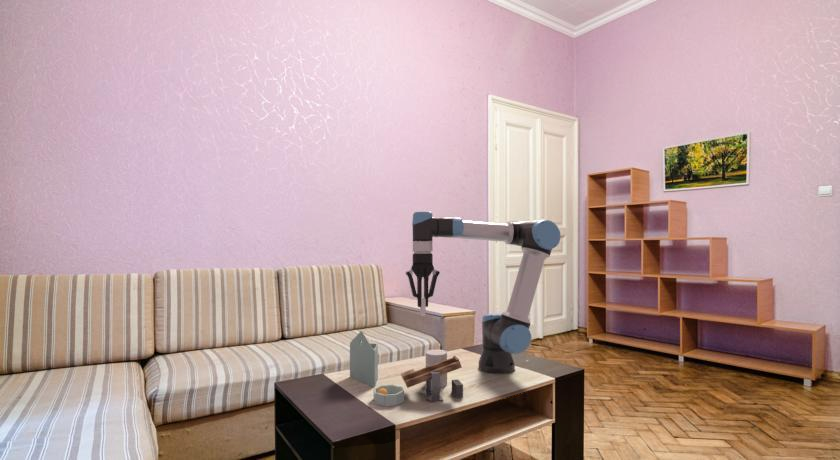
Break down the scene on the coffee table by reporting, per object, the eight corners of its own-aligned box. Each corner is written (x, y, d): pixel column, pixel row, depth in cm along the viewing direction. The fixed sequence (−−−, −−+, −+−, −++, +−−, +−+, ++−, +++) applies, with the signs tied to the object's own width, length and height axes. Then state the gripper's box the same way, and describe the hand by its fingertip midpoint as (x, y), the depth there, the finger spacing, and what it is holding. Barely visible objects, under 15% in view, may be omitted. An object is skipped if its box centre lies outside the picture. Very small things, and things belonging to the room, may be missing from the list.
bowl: (400, 393, 157) (400, 384, 157) (405, 404, 148) (405, 393, 148) (372, 396, 155) (372, 386, 155) (375, 406, 146) (375, 396, 146)
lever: (451, 357, 167) (449, 350, 167) (461, 367, 154) (459, 359, 154) (401, 375, 163) (399, 368, 163) (407, 387, 150) (405, 380, 150)
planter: (390, 382, 170) (389, 331, 170) (373, 387, 164) (373, 334, 165) (365, 372, 182) (365, 324, 182) (349, 377, 177) (349, 327, 177)
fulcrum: (436, 390, 160) (435, 364, 160) (443, 401, 150) (443, 373, 150) (422, 391, 159) (422, 365, 159) (428, 402, 149) (428, 374, 149)
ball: (379, 385, 153) (375, 394, 152) (380, 388, 149) (376, 398, 149) (388, 389, 153) (384, 398, 153) (390, 392, 150) (385, 402, 150)
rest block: (458, 391, 160) (458, 379, 160) (463, 397, 154) (463, 384, 154) (451, 391, 159) (451, 379, 159) (456, 397, 153) (456, 385, 153)
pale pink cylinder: (445, 388, 163) (445, 355, 163) (423, 386, 165) (423, 354, 165) (448, 381, 171) (448, 350, 171) (427, 379, 173) (427, 349, 173)
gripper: (437, 252, 171) (437, 313, 171) (403, 252, 168) (404, 314, 168) (441, 252, 164) (442, 316, 163) (407, 253, 161) (407, 318, 161)
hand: (422, 315), depth 166 cm, fingers closed
